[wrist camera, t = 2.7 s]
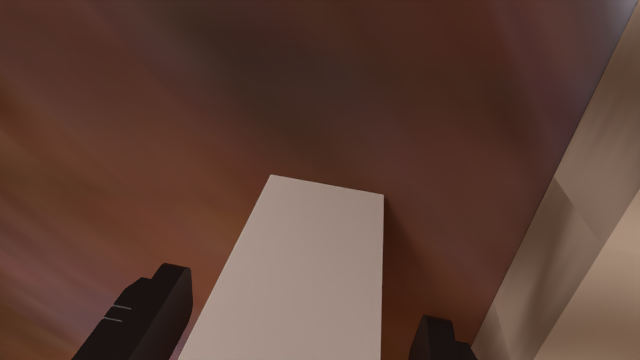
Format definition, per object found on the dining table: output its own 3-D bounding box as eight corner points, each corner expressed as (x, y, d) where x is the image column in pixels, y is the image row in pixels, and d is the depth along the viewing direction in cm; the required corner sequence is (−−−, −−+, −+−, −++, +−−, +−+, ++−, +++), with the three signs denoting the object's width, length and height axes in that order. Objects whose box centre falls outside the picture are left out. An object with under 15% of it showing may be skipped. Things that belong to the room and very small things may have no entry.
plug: (268, 171, 14) (90, 512, 6) (387, 192, 14) (384, 581, 6) (262, 261, 17) (127, 604, 8) (365, 281, 16) (339, 657, 8)
